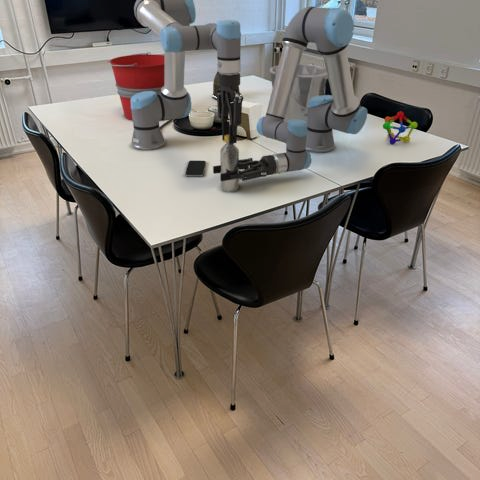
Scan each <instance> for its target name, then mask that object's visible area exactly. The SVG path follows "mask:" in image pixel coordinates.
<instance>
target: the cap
mask: <svg viewBox="0 0 480 480" xmlns="http://www.w3.org/2000/svg"><path fill="white" fill-rule="evenodd" d="M223 142H224V143H225V144H226V143H229V134H227V135H225V136H224V141H223Z"/></svg>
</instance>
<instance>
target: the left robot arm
mask: <svg viewBox="0 0 480 480" xmlns="http://www.w3.org/2000/svg"><path fill="white" fill-rule="evenodd" d="M133 12H134V16H135V18H136V20H137V22H138V23H139V24H140V25H141V26H143V27H145V28H149V29H150V30H151V31H152V32H153V33H155V34H156V35H157V36H158V37H159V39H160V44H161V45H160V46H161V47H162V50H163V51H164V54H163V55H164V86H163V87H162V88H161V94H156V92H154V91H144V92H140V93H137V94H135V95H133V96H132V97H131V110H132V118H133V120H132V125H133V132H132V135H131V147H132V148H134V149H135V150H141V151H151V150H153V151H154V150H157V149H161V148H163V147H164V146H165V144H166V140H165V137H164V135H163V132H162V128H163V127H165V126H167V125H168V124H169V123H170V122H172V121H173V120H176V119H177V120H180V119H183V118H186V117H188V116H189V115H190V113H191V111H192V98H191V94H190V93H189V92H188V89H186V87H185V67H186V66H185V61H186V52H195V51H209V50H210V51H211V50H216V52H217V53H216V56H217V57H216V59H217V65H216V66H217V71H218V72H219V73H218V85H219V86H221V87H220V89H218V90H216V95H217V100H216V105H217V108H216V109H217V118H218V119H219V120H220V121H221V133H222V135H221V136H222V141H223V142H225V141H224V136H225V135H227V134H229V144H234V145H235V144H237V143H238V142H237V141H238V139H237V138H238V137H237V136H238V126H240V125H242V116H243V115H242V112H243V101H244V96H243V95H241V96H239V95H238V89H237V87H238V86H239V87H240V85H241V68H242V67H241V65H242V64H241V46H242V45H241V44H242V42H241V40H242V39H241V38H242V32H241V23H240V21H238V20H235V19H234V20H233V19H221V20H218V21H217V23H214V22H213V23H212V22H211V23H205V24H199V25H192V24H194V23H195V21H196V18H197V15H196V14H197V13H196V6H195V3H194V0H136V1H135V3H134V6H133ZM162 121H163V122H164V121H166V122H164V123H163V124H161V125H160V122H162Z"/></svg>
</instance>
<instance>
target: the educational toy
mask: <svg viewBox="0 0 480 480" xmlns="http://www.w3.org/2000/svg"><path fill="white" fill-rule="evenodd" d="M397 119H399V124H400V125H399V127H398V126H393V125H391V124H392V123H394V122H395V121H396V120H397ZM403 120H404V121H405V122H407V123H408V124H409V125H407V126H404V123H403ZM417 127H418V122H417V121H411V120H410V119H409V118H408V117H406V116H405V113H404V112H403V111H401V110H400V111H398V112H397V114H396V115H394V116H391V117H390V116H386V117H385V118H384V122H383V123H382V129H383V130H386V132H387V138H388V142H389V145H395V144H396V143H397V142H402V141H403V142H404V143H409V142H410V140H411V138H410V136H411V134H412V132H413V131H414V130H415V129H417ZM392 129H393V130H397V131H398V132H396V134H395V133H394V132H392ZM408 129H409V131H408V133H407V134H406V135H404V136H401V134H403V133H405V132H406V130H408ZM399 135H400V136H399Z"/></svg>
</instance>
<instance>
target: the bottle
mask: <svg viewBox="0 0 480 480" xmlns="http://www.w3.org/2000/svg"><path fill="white" fill-rule="evenodd" d="M219 151H220V155H219V157H220V159H219V161H220V165H221V173H220V174H222V173H228V172H234V171H237V172H238V170H239V160H240V150H239V148H238V147H237V146H236V145H235V143H234V144H229V143H226V142H225V143H224V145H223V146H222V147H221V148H220V150H219ZM220 189H221V191H223V192H225V193H226V192H227V193H233V192H237V191H238V190H239V189H240V179H232V180H227V181H220Z"/></svg>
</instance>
